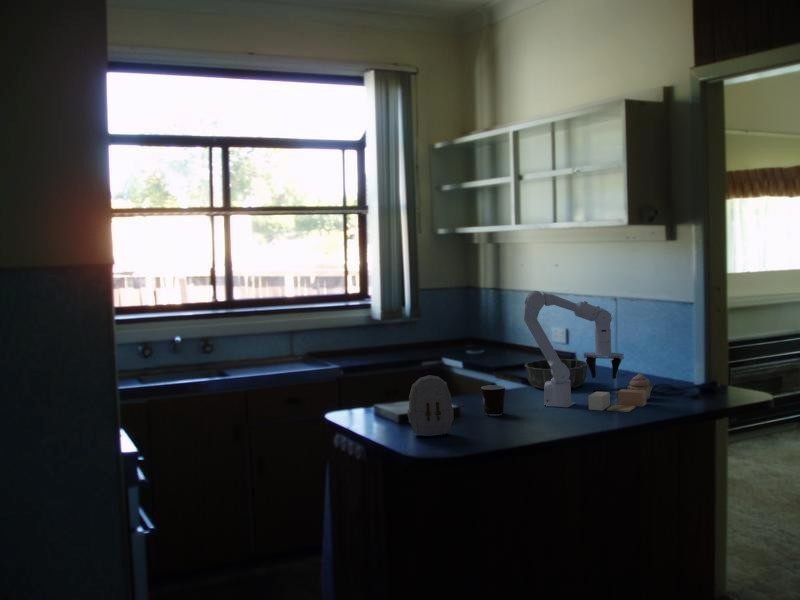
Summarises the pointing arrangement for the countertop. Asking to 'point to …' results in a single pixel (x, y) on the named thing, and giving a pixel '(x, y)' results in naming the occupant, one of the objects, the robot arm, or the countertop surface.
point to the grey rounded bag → (430, 406)
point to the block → (599, 400)
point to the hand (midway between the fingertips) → (604, 377)
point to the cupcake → (640, 384)
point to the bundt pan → (542, 373)
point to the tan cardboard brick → (632, 397)
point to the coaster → (621, 408)
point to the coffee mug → (493, 398)
